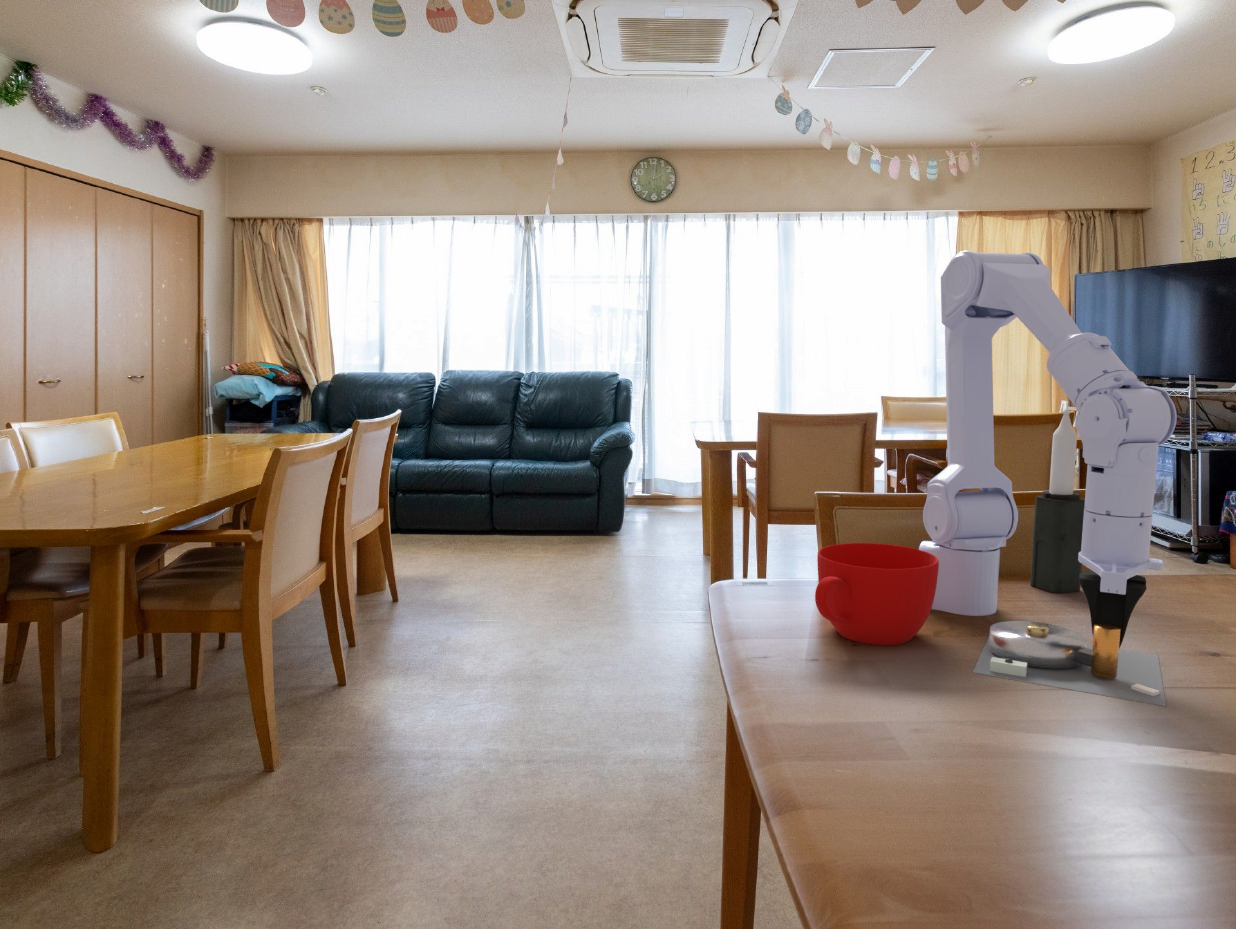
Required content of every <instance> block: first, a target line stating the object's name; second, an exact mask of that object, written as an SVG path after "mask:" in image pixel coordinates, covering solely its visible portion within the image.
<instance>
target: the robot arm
mask: <svg viewBox="0 0 1236 929" xmlns="http://www.w3.org/2000/svg"><path fill="white" fill-rule="evenodd" d="M1050 283H1051V269H1050V268H1049V267H1048V266H1046V265H1045V264H1044V262H1043V260H1042V259H1041V258H1040V257H1039V256H1038V255H1037V254H1035V253H1032V252H1025V253H1000V252H999V253H997V252H973V251H971V250H963V251H959V252H958V253H956V254H955V255H954V256H953V257H952V258H951V259H950V261H949V263H948V265H947V266H946V268H945V269H944V272H942V274H941V276H940V299H941V300H940V304H941V305H940V307H941V308H940V309H941V310H940V312H941V323H942V324H943V325H944V336H945V337H944V345H945V346H944V347H945V350H944V351H945V393H946V395H945V398H946V400H945V401H946V439H947V440H946V441H947V442H946V445H947V446H946V448H947V451H946V452H947V466H946V467H945V468H944V469H943V470H941V471H940V472H939V473H937V474H936V475H935V476H933V477H932V478H931V479H930V480H929V481H928V482H927V483H926V484H927V487H926V488H927V494H926V495H927V496H926V500H925V503H924V506H923V509H922V510H923V511H922V520H923V521H922V522H923V525H924V528H925V531H926V532H927V534H928V536H929V537H930V538H931V540H923V541H921V543H919V547H918V550H922V551H925V552H928V553H930V554H932V555H934V556H936V557H937V559H938V560H939V568H938V578H937V585H936V592H935V597H934V601H933V605H932V608H931V610H935V611H942V612H945V613H950V614H955V615H960V616H961V615H962V616H971V617H974V616H975V617H976V616H977V617H981V616H991V615H994V614H996V613H997V608H998V606H997V605H998V594H999V592H998V591H999V590H998V588H999V576H1000V575H999V574H1000V572H999V571H1000V557H1001V548H1002V547H1006V546H1007V540H1008V539H1010V538H1011V537H1012V536H1013V535H1014V534H1015V532H1016V529H1017V527H1018V524H1019V523H1018V522H1019V510H1018V507H1017V505H1016V504H1017V503H1016V501H1015V498H1014V494H1013V482H1012V480H1011V479H1010V478H1009V477H1008V476H1006V474H1004V473H1003V472H1002V471H1000V470H999V469H998V468H997V467H996V466H995V437H994V436H995V435H994V434H995V432H994V431H995V430H994V429H995V428H994V426H995V424H994V423H995V422H994V385H993V384H994V383H993V382H994V378H993V375H994V372H993V338H994V336H995V334H997V332H998V331H999V330H1000V329H1001V328H1002V327H1005V326H1008V325H1009V324H1010V323H1012V322H1013V321H1014V320H1015V319H1016V318H1017V319H1018V320H1019V321H1020V322H1021V323H1022V324H1023V325H1024V326H1025V328H1027V329H1028V331H1029V332H1030V333H1031V334H1032V335H1033V336H1034V337H1035V339H1036V340H1038V341H1039V342H1040V344H1041V345H1042V346H1043V348H1045V349H1046V350H1047V351H1048V352H1049V355H1048V358H1047V360H1046V362H1047V363H1046V368H1047V370H1048V372H1049V374H1050V375H1051V376H1052V378H1053V379H1054V380H1055V381H1056V383H1057V384H1058V386H1059V387H1060V388H1061V389H1062V392H1064V393H1065V395H1066V396H1067V398H1068V399H1069V401H1070V402H1072V404H1073V406H1074V407H1075V409H1076V410H1077V411H1078V412H1079V414H1076V416H1075V427H1076V431H1077V432H1076V433H1077V435H1078V436H1079V438H1080V440H1081V443H1082V458H1084V463H1085V464H1087V467H1086V469H1087V470H1086V479H1085V480H1086V481H1085V484H1086V485H1085V495H1084V497H1085V498H1084V499H1085V506H1084V518H1083V532H1082V545H1081V552H1079V554H1078V561H1079V562H1080V563H1081V564H1082V566H1085V567H1086V568H1088V569H1089V570H1090V571H1083V572H1082V571H1081V573H1080V577H1079V582H1080V588H1081V589H1082V591H1083V593H1084V595H1085V598H1086V601H1087V604H1088V609H1089V613H1090V622H1091V632H1092V635H1093V634H1094V625H1095V624H1109V625H1114V626H1117V627H1119V628H1120V641H1119V649H1121V646H1122V644H1123V641H1124V638H1125V635H1126V632H1127V627H1128V624H1129V622H1130V618H1131V616H1132V613H1133V610H1134V609H1135V607H1136V605H1137V604H1138V603H1139V601H1140V599H1142V597H1143V595H1144V594H1145V592H1146V591H1147V579H1146V577H1145V576H1144V575H1143V576H1142V575H1140V574H1142V573H1145V572H1147V571H1149V570H1152V571H1153V570H1154V571H1163V570H1164V561H1163V560H1162V559H1159V558H1151V557H1150V550H1151V549H1150V548H1151V538H1152V536H1151V534H1152V524H1153V515H1154V502H1155V492H1156V490H1155V489H1156V481H1157V480H1156V477H1157V468H1158V457H1159V456H1158V455H1159V446H1161V445H1163V444H1165V443H1166V441H1168V440H1169V439H1170V437H1171V436H1173V433H1174V431H1175V428H1176V426H1177V425H1176V424H1177V418H1178V416H1177V410H1176V406H1175V403H1174V401H1173V399H1172V398H1171V397H1170V395H1169V392H1168V391H1167V390H1166V389H1164V388H1162V387H1159V386H1154V385H1147V384H1146V383H1145V382H1144V381H1140V380H1138V376H1137V375H1136V374H1135V373H1134V371H1132V370H1129V368H1128V367H1127V366H1126V365H1125V363H1124V362H1123V361H1122V360H1121V359H1120V358H1119V356H1118V355H1117V354H1116V353H1115V352H1114V350H1113V349H1112V348H1111V346H1112V342H1111V341H1110V339H1108V337H1107V336H1106V335H1099V334H1097V333H1094V332H1082V331H1081V330H1080V329H1079V327H1078V326H1077V324H1076V323H1075V321H1074V319H1073V318H1072V316H1071V314H1070V313H1069V312H1068V310H1067V309H1066V307H1065V306H1064V304H1063V303H1062V302H1061V300H1060V298H1059V297H1058V295H1057V293H1055V291H1054V290H1053V289H1052V286H1051V285H1050ZM965 489H980V490H981V491H962V490H965ZM1091 571H1092V572H1091Z"/></svg>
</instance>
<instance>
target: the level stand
mask: <svg viewBox="0 0 1236 929" xmlns="http://www.w3.org/2000/svg"><path fill="white" fill-rule="evenodd" d="M989 637H990V634H989V635H988V638H987V639H986V642H985V644H984V647H983V649H982V651H981V653H980V655H979V657H978V659H977V661H976V663H975V667H974V668H973V670H972V673H973V674H977V675H983V676H989V677H994V678H999V679H1005V680H1012V681H1018V682H1023V683H1029V684H1035V685H1041V686H1045V687H1046V686H1047V687H1051V688H1057V689H1063V690H1067V691H1068V690H1069V691H1074V692H1075V691H1076V692H1080V693H1086V694H1092V695H1098V696H1103V697H1109V698H1114V699H1120V700H1121V699H1122V700H1126V701H1131V702H1138V703H1143V704H1149V705H1154V706H1161V707H1167V704H1166V703H1167V702H1166V697H1165V691H1164V685H1163V678H1162V677H1163V676H1162V671H1161V665H1160V660H1159V655H1157V654H1150V653H1143V652H1137V651H1131V650H1124V649H1119V655H1118V668H1117V677H1116V678H1102V677H1098V676H1095V675H1093V674H1092V673H1091V667H1089V666H1086V665H1083V664H1082V665H1080V666H1077V667H1072V668H1043V667H1035V666H1029V665H1027V663H1026V662H1020V661H1014V660H1011V659H1010V658H1007V659H1004V658H1001V657H999V656H997V655H996V654H994V653H993V652H992V651H991V650H990V649H989ZM1092 647H1093V645H1089V644H1087V645H1086V648H1088V649H1092Z"/></svg>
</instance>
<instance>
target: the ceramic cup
mask: <svg viewBox="0 0 1236 929" xmlns="http://www.w3.org/2000/svg"><path fill="white" fill-rule="evenodd" d="M816 561H817V579H818V584H817V585H816V588H815V593H814V603H815V605H816V608H817V610H818V612H819V614H820V615H821V616H822V617H823V618H824V619H826V620H827V621H829V622H830V624H831V625H832V626H833V628H834V629H835V630H836V631H837V633H838V634H839V635H840V636H842V637H843V638H846V639H847V640H850V641H853V642H857V643H862V644H866V645H875V646H876V645H877V646H895V645H901V644H905V643H907V642H908V643H909V641H910V640H912V639H913V638H914V636H916V635H917V634H918V632H919V631H920V630H921V629H922V628H923V626H924V625H925V623H926V621H927V620H928V618H929V615H930V613H931V611H932V609H931V608H932V605H933V601H934V597H935V592H936V585H937V578H938V568H939V560H938V559H937V557H936V556H934V555H932V554H930V553H928V552H925V551H922V550H919V548H918V549H917V548H912V547H909V546H902V545H895V544H888V543H887V544H886V543H877V542H876V543H873V542H852V543H851V542H850V543H849V542H847V543H839V544H838V543H837V544H831V545H827V546H823V547H822V548H819V550H817V560H816Z"/></svg>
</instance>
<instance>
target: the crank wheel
mask: <svg viewBox="0 0 1236 929" xmlns="http://www.w3.org/2000/svg"><path fill="white" fill-rule="evenodd" d="M989 635H990V637H989V636H988V637H989V649H990V650H991V651H992V652H993V653H994V654H996V655H997V656H999V657H1001V658H1004V659H1007V658H1010V659H1011V660H1014V661H1020V662H1026V663H1027V665H1029V666H1035V667H1043V668H1072V667H1077V666H1080V665H1082V664H1083V665H1086V666H1089V667H1091V673H1092V674H1093V675H1095V676H1098V677H1102V678H1116V677H1117V668H1118V655H1119V650H1120V648H1119V641H1120V628H1119V627H1117V626H1114V625H1109V624H1095V625H1094V634H1092V646H1093V647H1092V649H1088V648H1086V645H1088V644H1087V638H1086V637H1085V636H1084V635H1082V633H1079V632H1076V631H1075V630H1073V629H1070V628H1066V627H1063V626H1060V625H1055V624H1051V623H1046V622H1045V623H1044V622H1037V621H1028V620H1006V621H1000V622H996V623H993V624H992V625H990V626H989Z"/></svg>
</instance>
